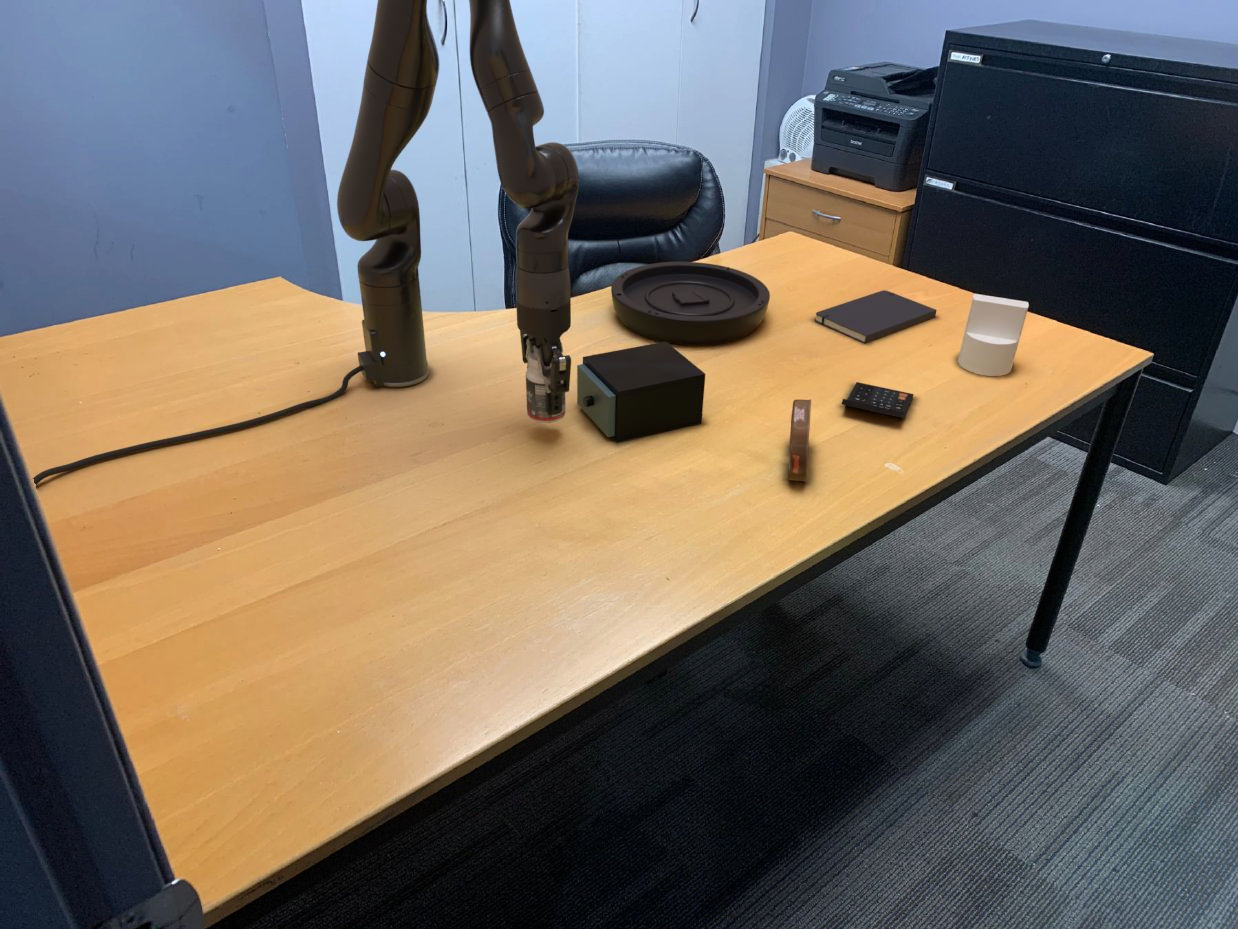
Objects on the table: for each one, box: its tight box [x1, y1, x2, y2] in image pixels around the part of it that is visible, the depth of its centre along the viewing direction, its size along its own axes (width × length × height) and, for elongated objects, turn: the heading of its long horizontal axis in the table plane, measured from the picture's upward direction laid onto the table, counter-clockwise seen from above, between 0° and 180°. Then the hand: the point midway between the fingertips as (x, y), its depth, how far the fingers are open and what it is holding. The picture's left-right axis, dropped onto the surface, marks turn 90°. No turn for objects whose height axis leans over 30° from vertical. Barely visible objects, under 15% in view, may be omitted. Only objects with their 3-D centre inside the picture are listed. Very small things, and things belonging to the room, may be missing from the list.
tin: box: [787, 398, 812, 483], centre depth 132 cm, size 15×3×8 cm, turn 168°
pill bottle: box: [525, 352, 566, 425], centre depth 135 cm, size 6×6×10 cm
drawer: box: [576, 363, 616, 438], centre depth 143 cm, size 15×11×7 cm
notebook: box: [814, 289, 938, 344], centre depth 180 cm, size 13×2×21 cm
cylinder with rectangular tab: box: [957, 293, 1030, 377], centre depth 161 cm, size 9×9×12 cm
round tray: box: [610, 261, 771, 346], centre depth 178 cm, size 30×6×30 cm
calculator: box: [841, 381, 914, 419], centre depth 149 cm, size 9×12×3 cm
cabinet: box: [582, 341, 706, 444], centre depth 144 cm, size 15×13×9 cm
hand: (545, 403), depth 137 cm, fingers closed on pill bottle, 5 cm apart
